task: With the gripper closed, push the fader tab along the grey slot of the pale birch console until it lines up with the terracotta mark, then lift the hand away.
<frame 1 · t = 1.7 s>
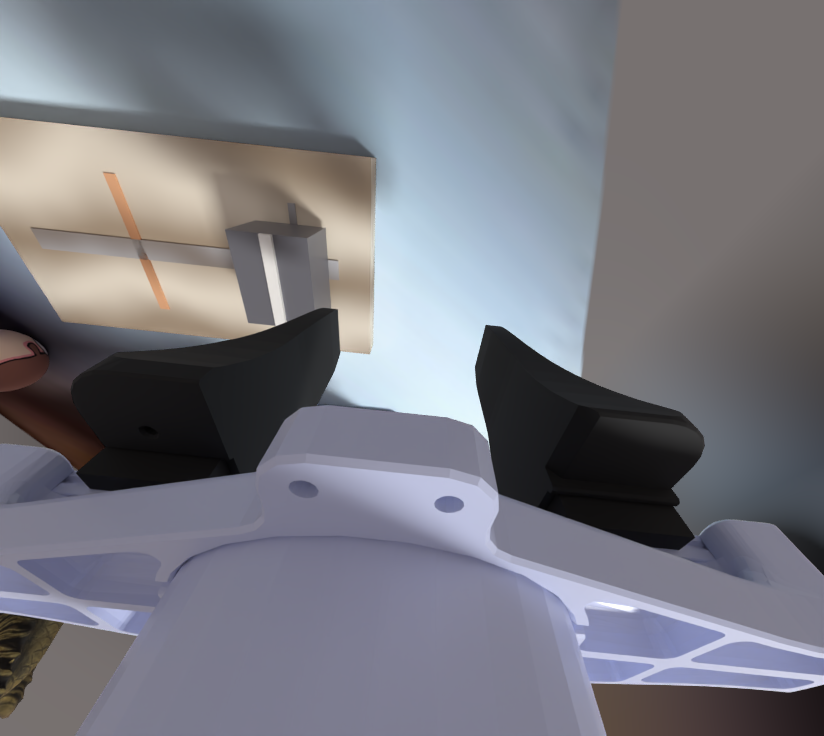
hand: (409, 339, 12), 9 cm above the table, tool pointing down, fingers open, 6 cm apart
fader tab: (285, 276, 17), point 4 cm above the table, slide at 0.0 cm
fader console: (204, 248, 20), on the table
figurine: (203, 485, 36), on the table
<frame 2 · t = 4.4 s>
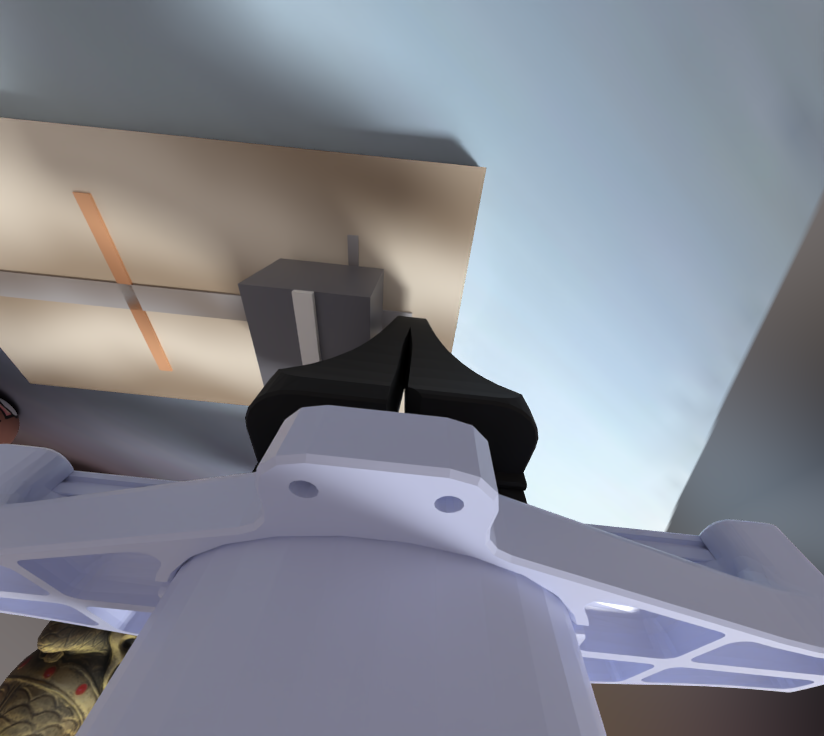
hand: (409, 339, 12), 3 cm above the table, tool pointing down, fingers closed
fader tab: (324, 340, 11), point 4 cm above the table, slide at 0.7 cm, touching gripper
fader console: (219, 291, 14), on the table
figurine: (212, 547, 31), on the table
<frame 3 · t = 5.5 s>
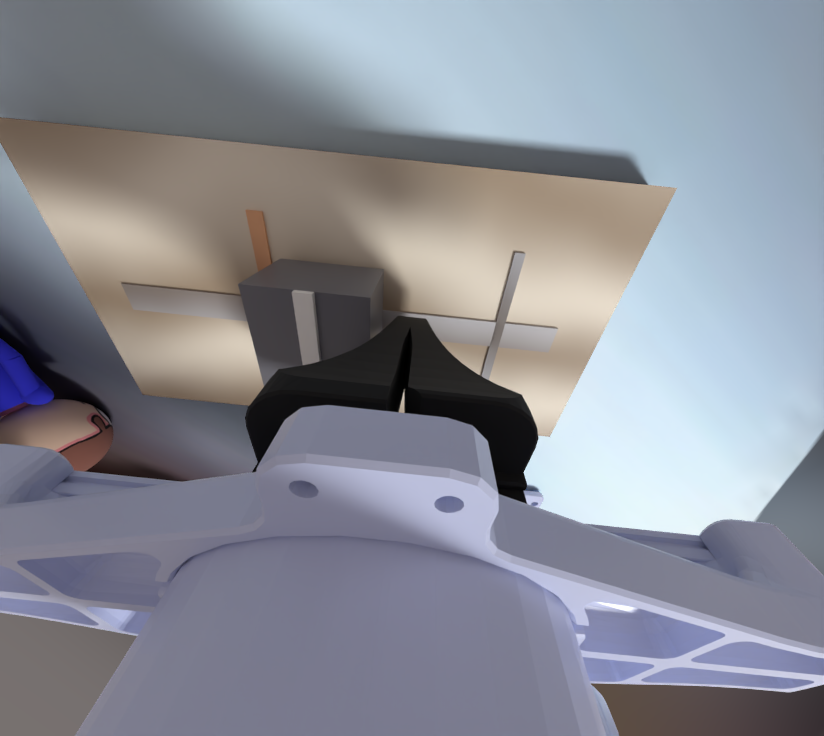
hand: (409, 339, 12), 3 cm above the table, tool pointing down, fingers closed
fader tab: (325, 340, 11), point 4 cm above the table, slide at 7.1 cm, touching gripper
fader console: (348, 305, 14), on the table
figurine character: (18, 347, 17), on the table
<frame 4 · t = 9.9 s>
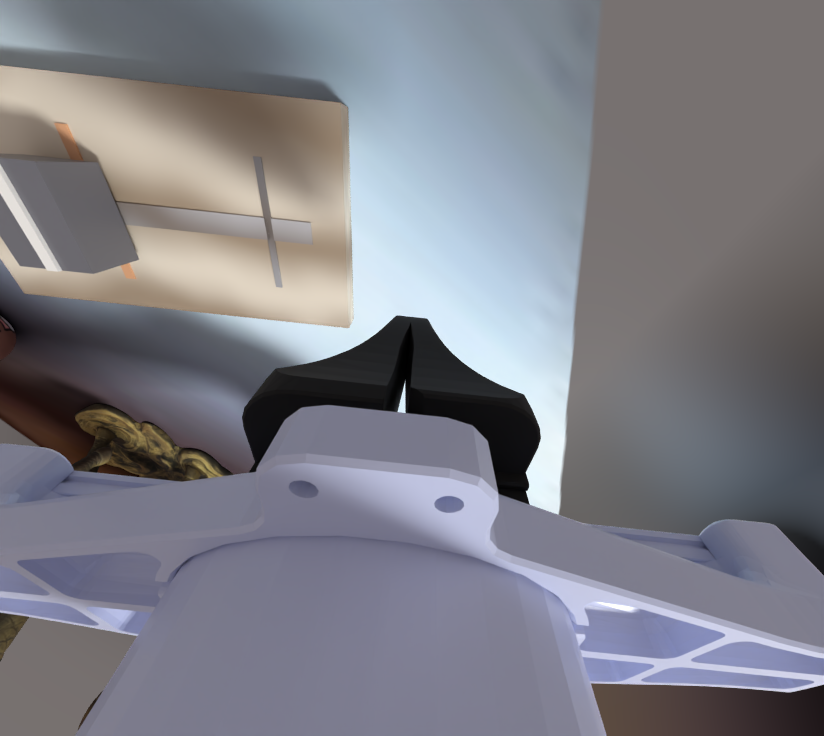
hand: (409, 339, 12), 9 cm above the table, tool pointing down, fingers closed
fader tab: (56, 215, 16), point 4 cm above the table, slide at 10.4 cm
fader console: (170, 213, 19), on the table
figurine: (187, 477, 35), on the table
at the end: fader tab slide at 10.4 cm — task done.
